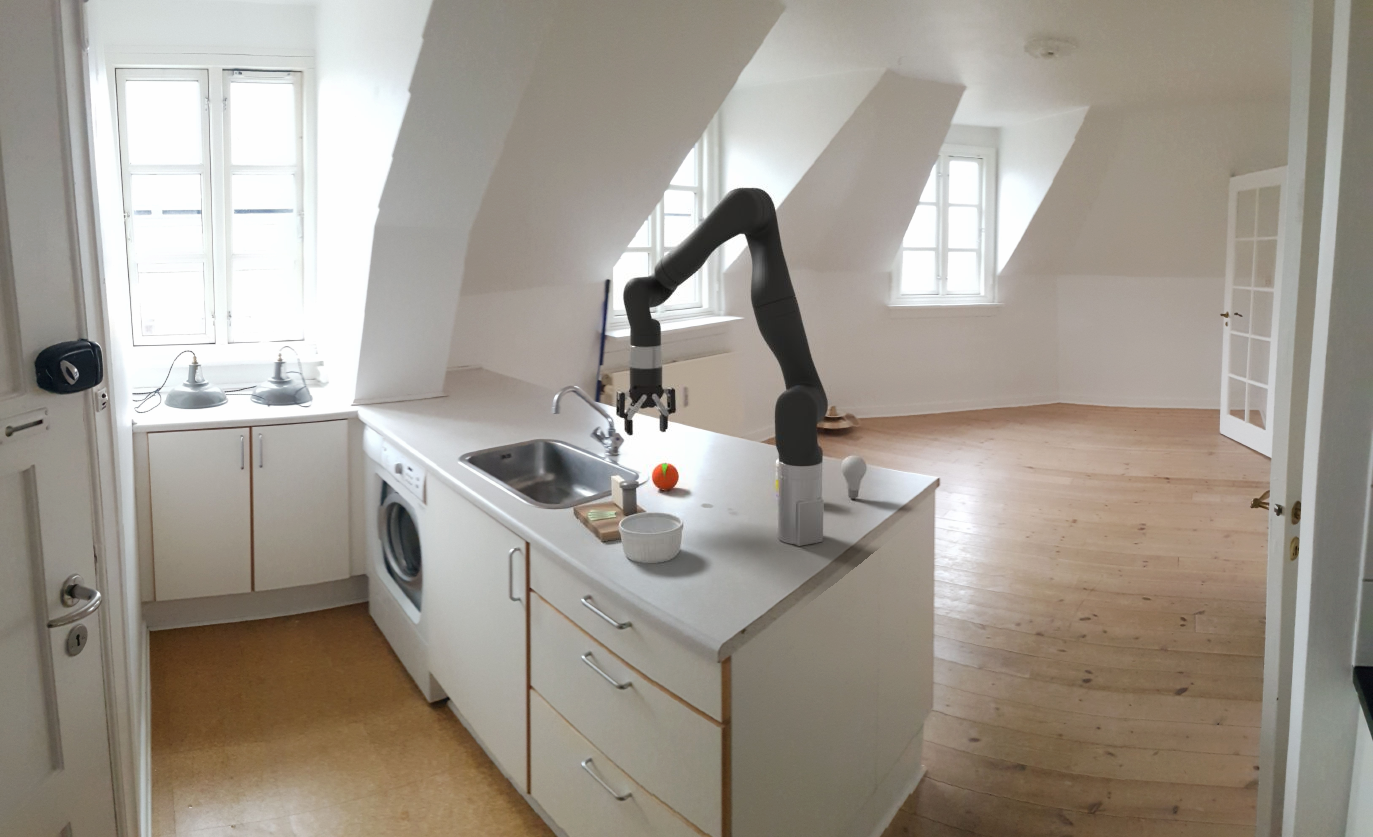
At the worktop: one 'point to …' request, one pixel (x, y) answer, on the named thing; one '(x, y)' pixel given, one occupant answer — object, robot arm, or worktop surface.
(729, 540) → the worktop surface
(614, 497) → the knob
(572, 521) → the worktop surface
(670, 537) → the ramekin
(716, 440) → the worktop surface
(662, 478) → the clementine
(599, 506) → the board
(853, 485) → the lightbulb
